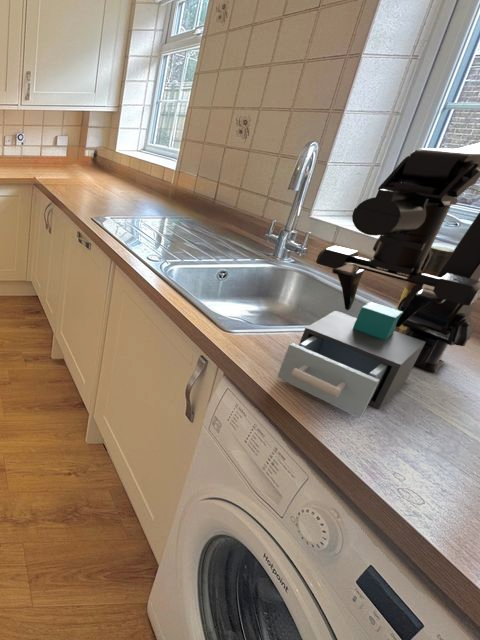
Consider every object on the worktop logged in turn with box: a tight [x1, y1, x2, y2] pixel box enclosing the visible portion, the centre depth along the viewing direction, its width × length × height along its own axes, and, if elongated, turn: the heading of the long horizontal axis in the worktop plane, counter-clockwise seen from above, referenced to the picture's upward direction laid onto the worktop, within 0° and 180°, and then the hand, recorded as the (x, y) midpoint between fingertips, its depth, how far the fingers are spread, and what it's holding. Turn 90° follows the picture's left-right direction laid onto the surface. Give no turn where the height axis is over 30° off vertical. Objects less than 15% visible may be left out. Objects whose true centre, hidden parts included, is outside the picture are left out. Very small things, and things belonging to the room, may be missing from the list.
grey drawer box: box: [298, 310, 425, 410], centre depth 73 cm, size 14×13×9 cm
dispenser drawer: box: [276, 335, 392, 419], centre depth 68 cm, size 17×11×7 cm
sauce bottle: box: [394, 245, 455, 334], centre depth 86 cm, size 7×6×20 cm
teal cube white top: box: [353, 301, 403, 340], centre depth 72 cm, size 4×4×4 cm
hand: (371, 317), depth 70 cm, fingers open, 6 cm apart
